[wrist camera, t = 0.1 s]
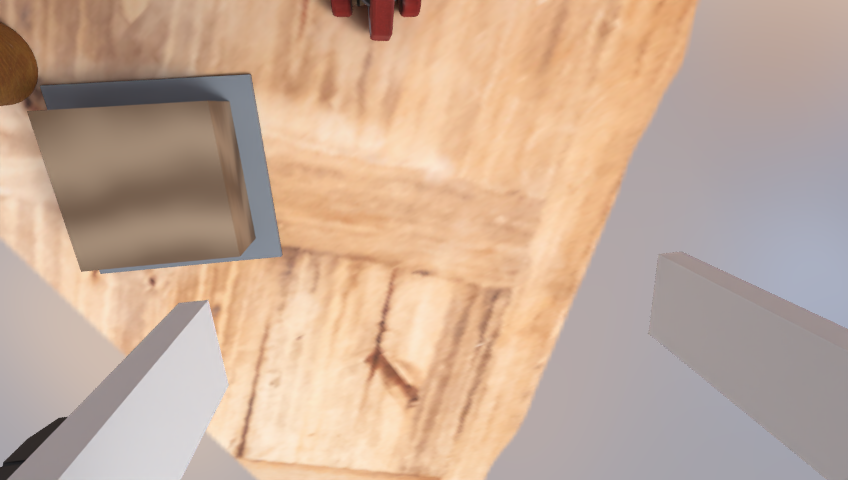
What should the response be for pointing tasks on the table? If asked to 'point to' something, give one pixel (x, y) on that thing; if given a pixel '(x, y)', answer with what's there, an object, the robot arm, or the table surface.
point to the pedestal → (147, 182)
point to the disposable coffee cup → (15, 67)
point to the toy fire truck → (378, 14)
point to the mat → (190, 90)
